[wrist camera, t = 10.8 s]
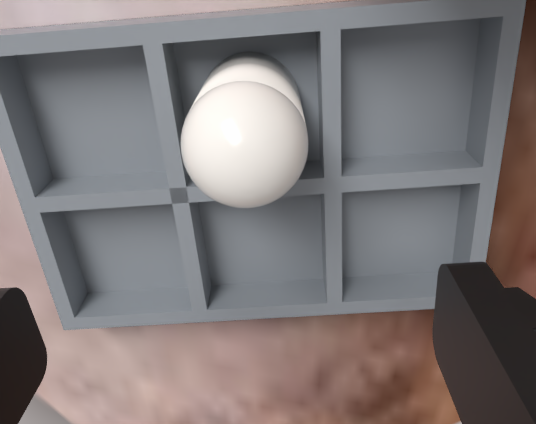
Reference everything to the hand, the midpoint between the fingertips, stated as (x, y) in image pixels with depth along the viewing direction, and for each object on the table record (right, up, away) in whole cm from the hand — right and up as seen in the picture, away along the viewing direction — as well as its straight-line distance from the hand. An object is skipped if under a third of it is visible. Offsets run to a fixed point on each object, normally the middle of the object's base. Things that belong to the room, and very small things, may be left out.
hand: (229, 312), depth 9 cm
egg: (0, +7, +13) cm, 15 cm away
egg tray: (0, +4, +16) cm, 16 cm away
